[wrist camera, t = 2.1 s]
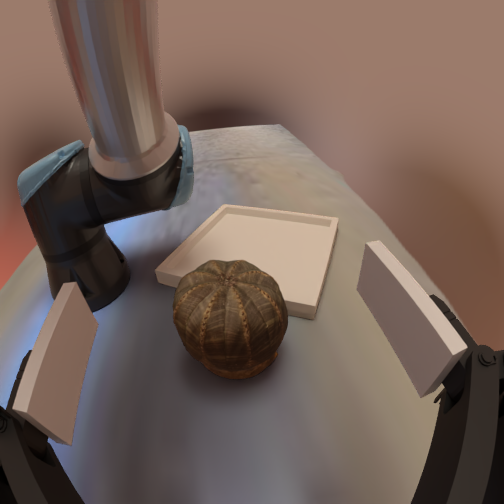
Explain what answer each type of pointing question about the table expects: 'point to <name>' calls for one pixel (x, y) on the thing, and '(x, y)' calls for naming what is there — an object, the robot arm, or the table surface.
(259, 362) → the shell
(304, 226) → the tray
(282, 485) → the table surface
